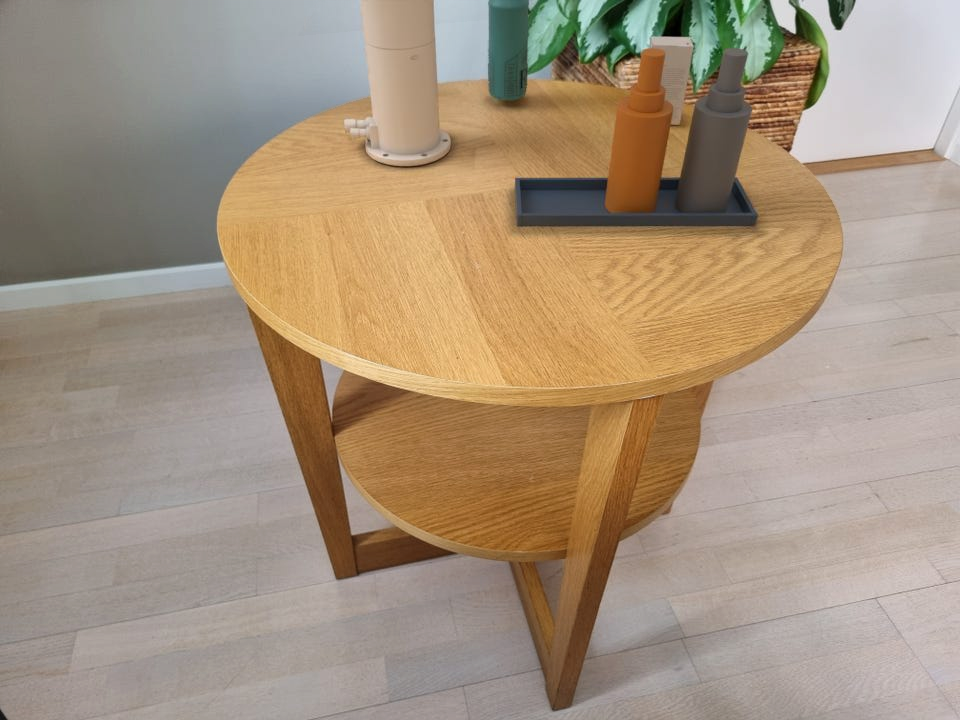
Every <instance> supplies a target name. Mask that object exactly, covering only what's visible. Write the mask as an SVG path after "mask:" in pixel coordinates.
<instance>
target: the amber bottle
mask: <svg viewBox="0 0 960 720" xmlns="http://www.w3.org/2000/svg"><path fill="white" fill-rule="evenodd" d="M665 55H666V52H665V51H663V50H661V49H656V48H649V47H648V48H644V49H642V50H641V53H640V60H639V68H638V75H637V81H636V83H634V84H632V85H630V87H629V92H628V93H629V95H628V96H627V97H623V98H621V99H620V100H619V101H618V102H617V105H616V112H615V120H614V126H613V127H614V129H613V134H612V135H613V137H612V138H613V139H612V143H611V151H610V160H609V168H608V174H607V178H608V182H607V190H606V198H605V207H606V209H607V210H608V211H609V212H610V213H654V211H655V208H656V203H657V197H658V192H659V186H660V181H661V177H662V176H663V175H662V174H663V170H664V164H665V159H666V154H667V153H666V152H667V146H668V142H669V137H670V131H671V126H672V125H671V121H672V115H673V110H674V108H673V105H672V104H671V103H670V102H668V101H666V100H664V99H665V93H666V89H665V88H664V87H663V86H662V85H661V79H662V73H663V67H664V61H665Z"/></svg>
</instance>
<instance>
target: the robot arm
mask: <svg viewBox="0 0 960 720" xmlns="http://www.w3.org/2000/svg"><path fill="white" fill-rule="evenodd" d="M434 2H435V0H359V8H360V17H361V25H362V36H363V41H364V50H365V58H366V67H367V68H366V69H367V76H368V77H367V78H368V86H369V95H370V103H371V112H372V114H371V116H366V117H365V119H357V118H344V120H343V128H344V132H345V133H346V134H349V136H350V139H360V138H361V139H365V142H364V143H365V146H364V147H365V151H366V154H367V155H368V156H369V157H370V158H371V159H372V160H374V161H375V162H378V163H381V164H384V165H388V166H394V167H414V166H422V165H426V164H427V165H428V164H430V163H434V162H436V161H438V160H440V159H442V158H443V157H445V156H446V155H447V154H448V153H449V151H450V150H451V147H452V141H451V140H452V139H451V136H450V135H449V133H448V132H447V131H445V130H444V129H442V128H441V127H440V107H439V106H440V105H439V88H438V87H439V86H438V66H437V65H438V64H437V45H436V44H437V43H436V31H435V30H436V27H435V26H436V25H435V24H436V23H435V3H434Z"/></svg>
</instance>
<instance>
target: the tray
mask: <svg viewBox="0 0 960 720" xmlns="http://www.w3.org/2000/svg"><path fill="white" fill-rule="evenodd" d="M679 180H680V176H679V177H676V176H675V177H672V176H671V177H662V176H661V181H660V186H659V192H658V197H657V203H656V208H655V211H654V213H610V212H609V211H608V210H607V209H606V207H605V198H606V190H607V182H608V177H515V178H514V197H515V198H514V199H515V215H516V216H515V217H516V227H756V224H757V220H758V218H759V214H758V213H757V210H756V209H755V207H754V205H753V204H752V201H751V200H750V198H749V196H748V194H747V193H746V191H745V189H744V186H743V185H742V184H741V182H740V180H739V178H738V177H737V176H735V178H734V182H733V186H732V190H731V194H730V198H729V201H728V205H727V209H726V212H725V213H682V212H680V211H679V210H678V209H677V208H676V206H675V200H676V195H677V190H678V185H679Z"/></svg>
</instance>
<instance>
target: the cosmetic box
mask: <svg viewBox="0 0 960 720" xmlns="http://www.w3.org/2000/svg"><path fill="white" fill-rule="evenodd" d="M649 39H650V40H649V45H648V46H649V47H648V48H656V49H661V50H663V51H665V52H666V55H665V61H664V67H663V73H662V79H661V85H662V86H663V87H664V88H665V89H666V93H665V99H664V100H666V101H668V102H670V103H671V104H672V105H673V108H674V110H673V115H672V121H671V126H680V124H681V121H682V114H683V108H684V103H685V98H686V93H687V87H688V80H689V75H690V71H691V70H690V69H691V64H692V57H693V53H694V48H695V46H694V44H693V40H692V38H691V37H690V36H650V38H649Z"/></svg>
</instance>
